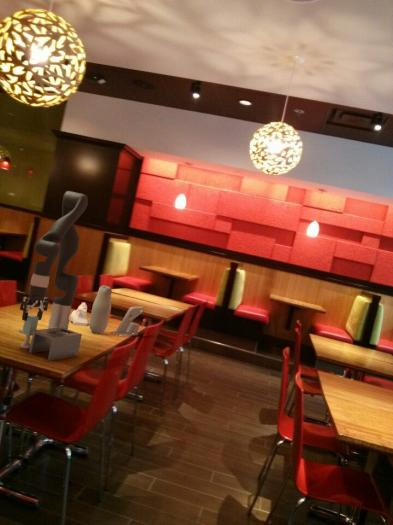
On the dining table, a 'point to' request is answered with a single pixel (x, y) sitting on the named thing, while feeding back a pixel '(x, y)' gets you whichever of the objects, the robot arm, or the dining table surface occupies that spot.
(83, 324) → the soft serve ice cream
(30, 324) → the boxy toy figurine
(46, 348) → the grey open box
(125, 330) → the phone holder
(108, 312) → the grey vase
